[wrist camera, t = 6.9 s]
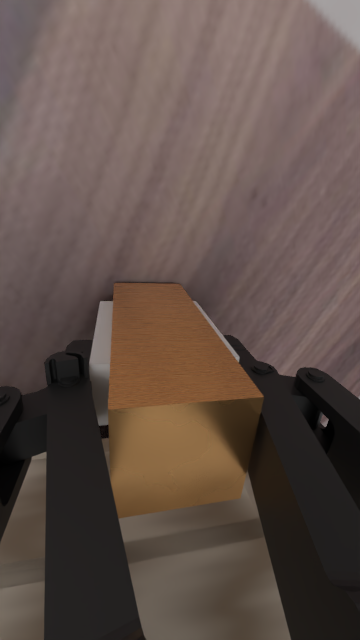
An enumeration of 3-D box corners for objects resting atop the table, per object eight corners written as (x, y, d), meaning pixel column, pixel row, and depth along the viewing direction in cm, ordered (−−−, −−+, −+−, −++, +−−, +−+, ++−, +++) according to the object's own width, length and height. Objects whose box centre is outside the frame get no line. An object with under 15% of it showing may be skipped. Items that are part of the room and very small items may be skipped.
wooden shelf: (-44, 494, 21) (-413, 1162, 6) (-73, 410, 18) (-923, 1337, 3) (209, 462, 25) (331, 816, 11) (220, 390, 22) (415, 751, 8)
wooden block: (118, 489, 23) (119, 704, 13) (113, 282, 16) (107, 409, 6) (165, 482, 24) (198, 679, 14) (179, 283, 17) (264, 396, 7)
